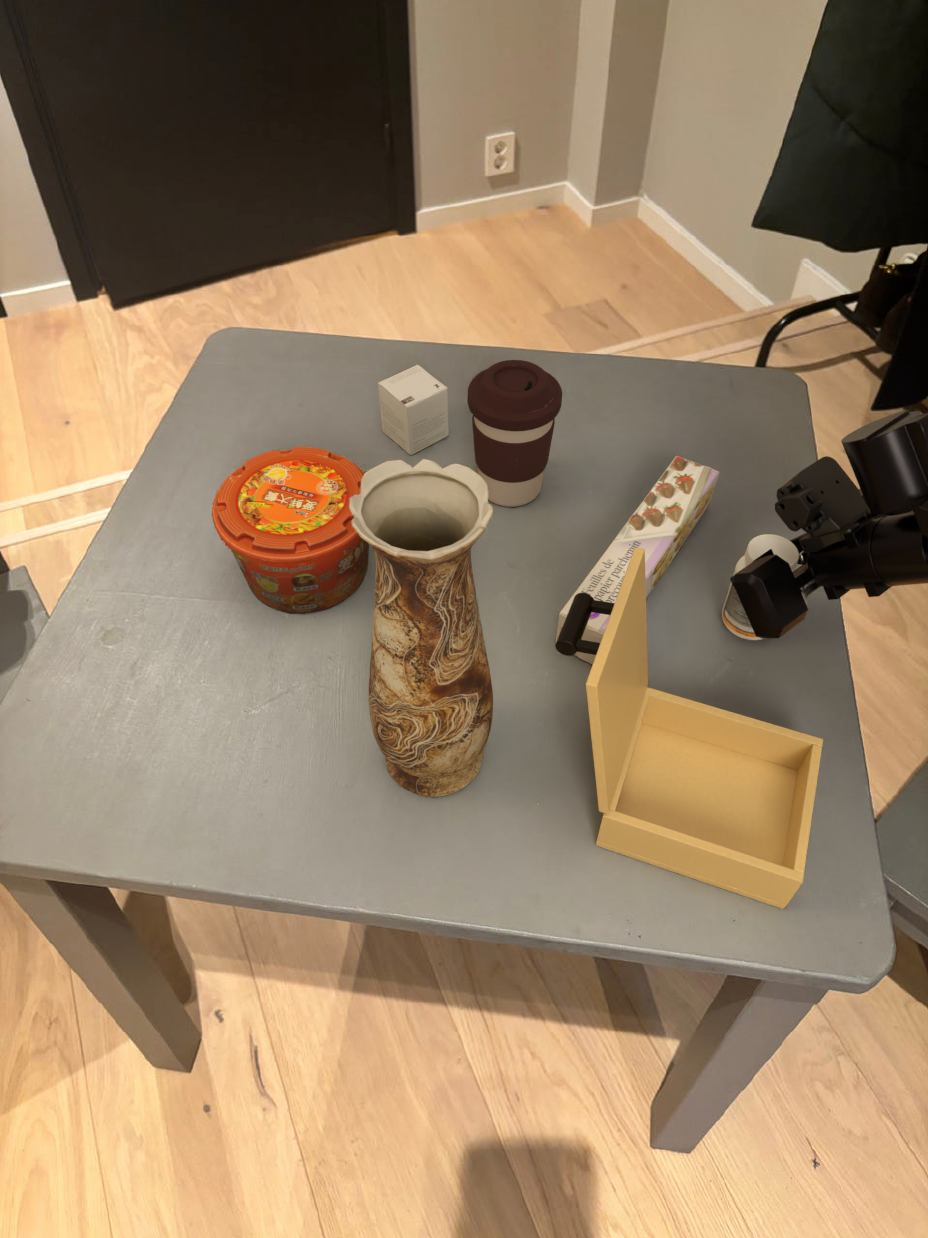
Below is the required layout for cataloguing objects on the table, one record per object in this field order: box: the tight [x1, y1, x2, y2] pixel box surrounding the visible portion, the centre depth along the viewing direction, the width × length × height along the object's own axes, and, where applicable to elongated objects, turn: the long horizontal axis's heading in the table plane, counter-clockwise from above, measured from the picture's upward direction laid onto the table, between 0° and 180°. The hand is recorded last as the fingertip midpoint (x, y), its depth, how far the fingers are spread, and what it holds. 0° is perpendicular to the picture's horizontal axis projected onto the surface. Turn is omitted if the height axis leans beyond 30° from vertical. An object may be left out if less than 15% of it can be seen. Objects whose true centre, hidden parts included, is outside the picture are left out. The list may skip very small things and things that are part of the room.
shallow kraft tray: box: [595, 686, 824, 910], centre depth 76 cm, size 16×14×5 cm
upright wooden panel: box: [554, 548, 649, 814], centre depth 70 cm, size 16×14×4 cm
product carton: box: [377, 364, 450, 456], centre depth 107 cm, size 6×6×7 cm
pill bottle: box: [721, 533, 799, 641], centre depth 86 cm, size 6×6×10 cm
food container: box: [211, 446, 370, 615], centre depth 92 cm, size 16×16×11 cm
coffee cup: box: [467, 359, 563, 508], centre depth 98 cm, size 10×10×15 cm
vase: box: [349, 458, 494, 798], centre depth 70 cm, size 10×11×30 cm
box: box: [554, 455, 720, 665], centre depth 93 cm, size 27×5×6 cm, turn 147°
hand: (754, 567), depth 86 cm, fingers closed on pill bottle, 6 cm apart
